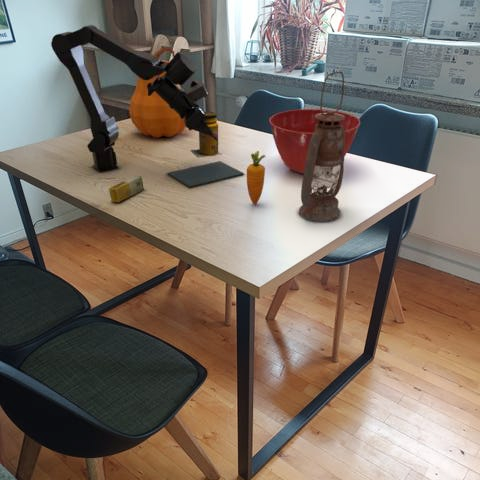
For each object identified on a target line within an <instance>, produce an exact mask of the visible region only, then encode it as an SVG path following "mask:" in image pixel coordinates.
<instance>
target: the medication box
mask: <svg viewBox="0 0 480 480" xmlns="http://www.w3.org/2000/svg"><path fill="white" fill-rule="evenodd" d="M144 190H145V187H144V182H143V177H142V176H141V175H134V176H132V177H130V178H128V179H126V180H124V181H122V182H120V183H117V184H115V185H113V186H110V187H109V188H108V191H109V196H110V199H111V201H110V202H112V203H120V202H122V201H124V200H126V199H128V198H129V197H132V196H134V195H136V194H138V193H140V192H141V191H144Z"/></svg>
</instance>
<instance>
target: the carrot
mask: <svg viewBox="0 0 480 480" xmlns="http://www.w3.org/2000/svg"><path fill="white" fill-rule="evenodd" d="M259 154H260V150H256V152H254V153H253V152H252V153H251V154H250V157H251V160H252V163H250V164H248V166H247V167H246V186H247V192H248V193H247V194H248V196H249V199H250V201H251V202H252V204H253V206H256V205H257V204H258V202H259V201H260V200H261V199H260V198H261V196H262V194H263V189H264V184H265V174H266V173H265V172H266V167H265V166H264V165H263V164H261V163H260V162H261V161H262V159H264V158H265V157H266V155H265V154H262V155H260V156H259Z"/></svg>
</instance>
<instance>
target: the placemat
mask: <svg viewBox="0 0 480 480" xmlns="http://www.w3.org/2000/svg"><path fill="white" fill-rule="evenodd" d="M167 175H168V176H169V177H171V178H173V179H174V180H175V181H177V182H179V183H181V184H182V185H183V186H186V187H187V188H188V189H191V188H196V187H201V186H205V185H208V184H213V183H217V182H220V181H225V180H228V179H233V178H238V177H241V176H244V172H242V171H240V170H238V169H236V168H235V167H233V166H230V165H228V164H227V163H225V162H222V161H221V160H218V161H214V162H209V163H206V164H201V165H195V166H190V167H187V168H183V169H178V170H174V171H169V172H167Z"/></svg>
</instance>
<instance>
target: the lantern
mask: <svg viewBox="0 0 480 480" xmlns="http://www.w3.org/2000/svg"><path fill="white" fill-rule="evenodd" d="M336 74H340V75H341V79H342V88H341V97H340V103H339V106H338V108H337V110H332V111H327V113H322V110H323V96H324V90H325V86H326V84H327V83H326V82H327V79H328V77H329V76H333V75H336ZM323 81H324V82H323V84H322V90H321V96H320V106H319V107H320V110H321V113H320V114H316V115H315V118H316V119H317V120H318V122H317V125H316V126H315V132H314V134H313V135H312V137H311V140H310V143H309V148H308V153H307V158H306V164H305V169H304V174H302V175H303V176H302V181H301V190H300V200H301V203H302V205H300V206H299V209H298V213H299V214H298V215H299V216H300V217H301V218H303V219H305V220H307V221H311V222H314V223H329V222H334V221H336V220H337V219H339V218H340V215H341V210H340V208H339V199H338V198H337V195H338V194H339V192H340V190H341V187H342V184H343V179H344V169H345V168H344V166H345V157H344V150H345V131H344V128H343V126H342V125H341V121H343V120H345V116H343V115H341V114H336V113H335V112H337V111H339V110H340V109H341V106H342V104H343V100H344V99H343V98H344V90H345V77H344V73H343V72H342V71H334V72H330V73H328V74H327V75H326V77H325V79H324V80H323ZM334 166H335V167H334ZM320 167H322V168H320ZM329 167H333V169H332V170H331V168H329ZM326 172H327V173H328V174H327V173H326ZM315 173H316V175H315ZM322 173H323V174H322ZM313 174H314V175H313Z"/></svg>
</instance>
